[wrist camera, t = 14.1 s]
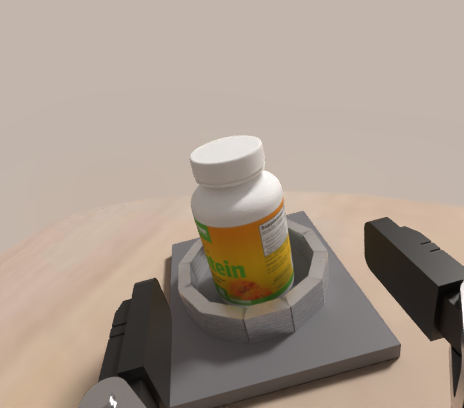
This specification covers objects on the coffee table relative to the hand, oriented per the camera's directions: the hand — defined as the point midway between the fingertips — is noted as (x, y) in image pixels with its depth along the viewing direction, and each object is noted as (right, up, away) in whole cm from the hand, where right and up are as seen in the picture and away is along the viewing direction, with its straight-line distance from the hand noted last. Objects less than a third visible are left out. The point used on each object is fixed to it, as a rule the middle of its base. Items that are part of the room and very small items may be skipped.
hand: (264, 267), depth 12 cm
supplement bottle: (0, -3, +10) cm, 10 cm away
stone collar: (+1, -4, +10) cm, 11 cm away
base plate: (+1, -4, +10) cm, 11 cm away
